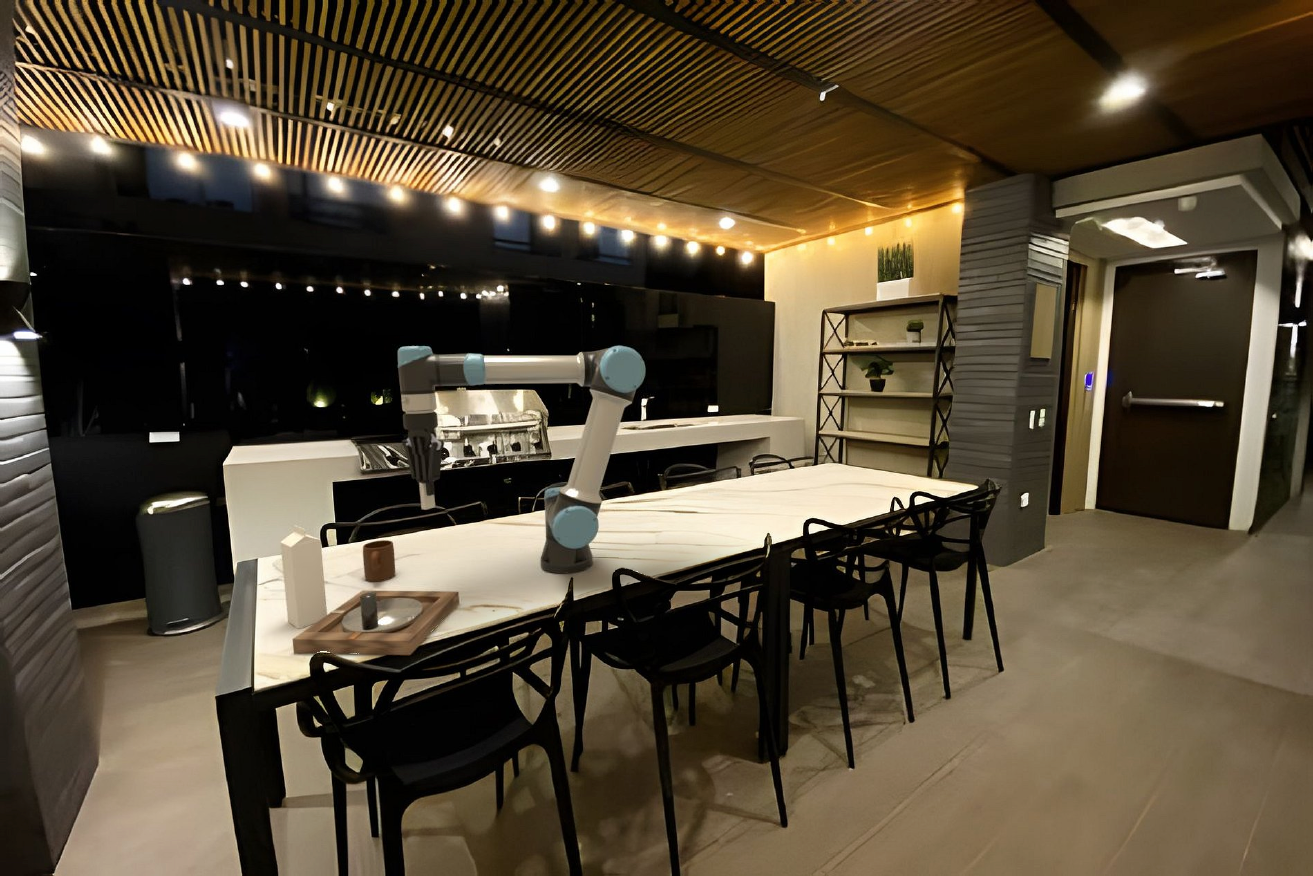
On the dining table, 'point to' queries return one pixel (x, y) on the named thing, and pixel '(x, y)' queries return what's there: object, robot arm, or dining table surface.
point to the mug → (379, 560)
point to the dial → (381, 614)
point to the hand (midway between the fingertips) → (428, 507)
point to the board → (398, 642)
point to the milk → (303, 578)
